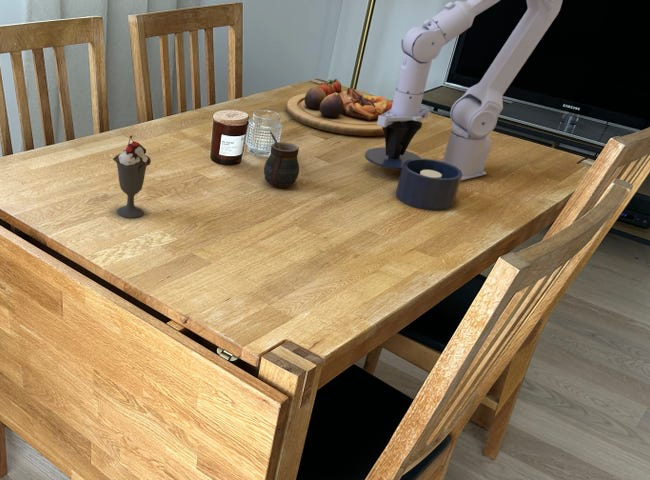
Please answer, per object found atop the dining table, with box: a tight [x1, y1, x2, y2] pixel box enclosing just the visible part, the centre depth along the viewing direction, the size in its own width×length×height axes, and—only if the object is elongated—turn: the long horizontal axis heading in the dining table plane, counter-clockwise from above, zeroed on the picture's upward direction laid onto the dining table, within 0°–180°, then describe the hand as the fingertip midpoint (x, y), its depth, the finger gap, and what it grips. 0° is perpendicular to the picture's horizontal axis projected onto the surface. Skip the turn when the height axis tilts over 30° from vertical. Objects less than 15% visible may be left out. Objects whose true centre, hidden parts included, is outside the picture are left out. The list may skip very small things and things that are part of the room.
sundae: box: [112, 134, 152, 219], centre depth 130 cm, size 7×7×15 cm
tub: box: [420, 170, 442, 178], centre depth 147 cm, size 4×4×5 cm
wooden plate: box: [285, 78, 393, 137], centre depth 189 cm, size 32×32×8 cm
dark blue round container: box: [395, 158, 462, 211], centre depth 147 cm, size 11×11×6 cm
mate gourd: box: [263, 131, 300, 189], centre depth 147 cm, size 7×8×10 cm
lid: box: [364, 142, 422, 171], centre depth 158 cm, size 12×12×4 cm
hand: (394, 154), depth 158 cm, fingers closed on lid, 2 cm apart
